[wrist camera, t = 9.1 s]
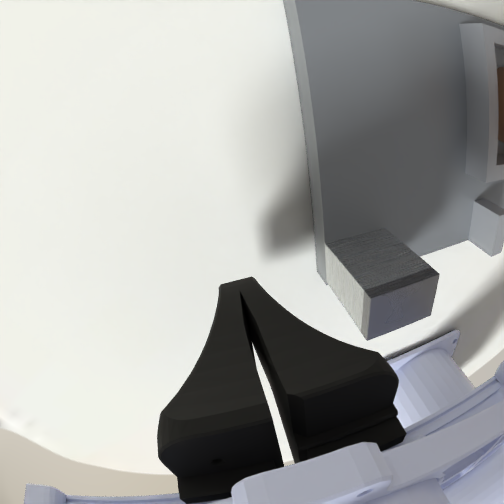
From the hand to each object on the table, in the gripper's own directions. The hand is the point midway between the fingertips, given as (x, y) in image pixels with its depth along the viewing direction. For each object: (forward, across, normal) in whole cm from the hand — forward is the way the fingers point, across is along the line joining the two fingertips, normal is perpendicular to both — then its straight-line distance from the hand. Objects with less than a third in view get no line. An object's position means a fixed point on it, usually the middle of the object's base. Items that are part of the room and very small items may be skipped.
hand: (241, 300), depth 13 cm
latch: (+1, -5, 0) cm, 6 cm away
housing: (+2, -16, -5) cm, 17 cm away
